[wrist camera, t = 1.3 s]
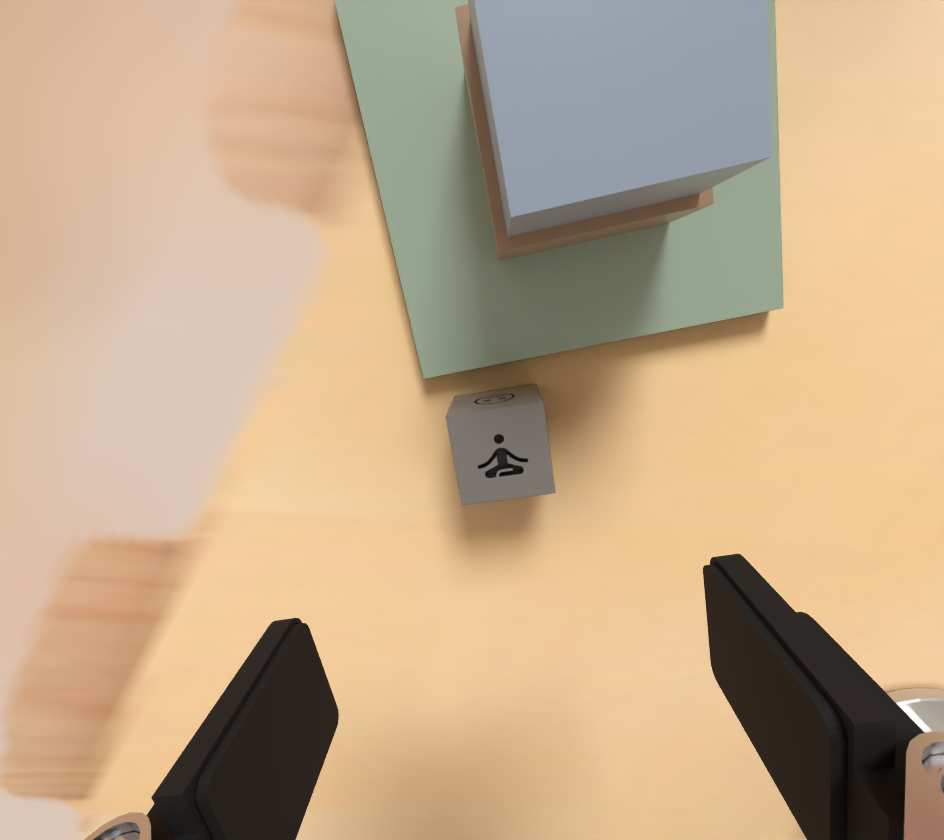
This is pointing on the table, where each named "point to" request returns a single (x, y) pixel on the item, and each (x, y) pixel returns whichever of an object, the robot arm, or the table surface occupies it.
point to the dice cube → (500, 444)
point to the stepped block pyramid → (570, 167)
